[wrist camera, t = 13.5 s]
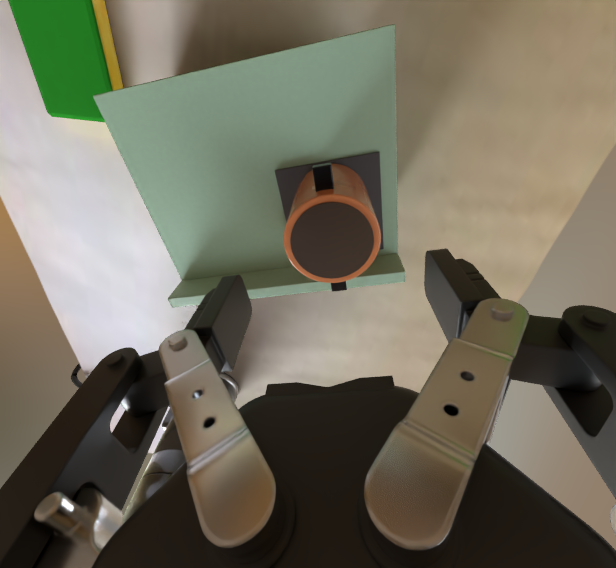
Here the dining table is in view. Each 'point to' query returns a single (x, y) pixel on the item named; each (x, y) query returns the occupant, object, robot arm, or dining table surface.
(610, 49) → the dining table surface
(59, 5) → the dish sponge
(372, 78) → the shelf
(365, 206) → the copper pot
